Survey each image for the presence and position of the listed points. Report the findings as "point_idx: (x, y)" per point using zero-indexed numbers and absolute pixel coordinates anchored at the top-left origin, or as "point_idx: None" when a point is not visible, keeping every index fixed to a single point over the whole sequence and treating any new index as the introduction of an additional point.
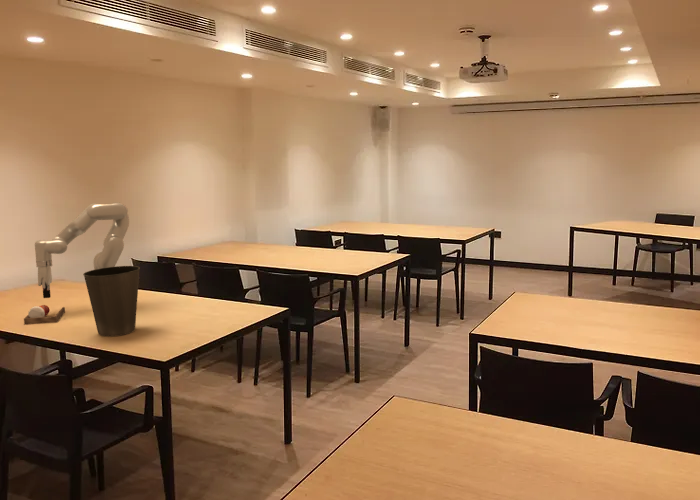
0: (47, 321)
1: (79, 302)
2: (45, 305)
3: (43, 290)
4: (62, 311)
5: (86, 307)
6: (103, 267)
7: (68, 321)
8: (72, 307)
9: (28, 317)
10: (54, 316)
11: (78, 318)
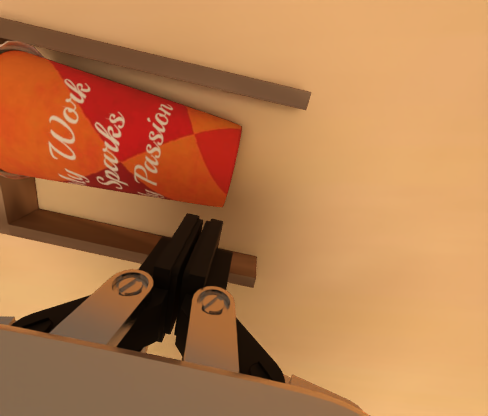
0: None
1: (472, 340)
2: (204, 193)
3: (117, 282)
4: None
5: (316, 351)
6: None
7: (41, 264)
8: (363, 303)
9: (39, 46)
10: (3, 223)
11: None
